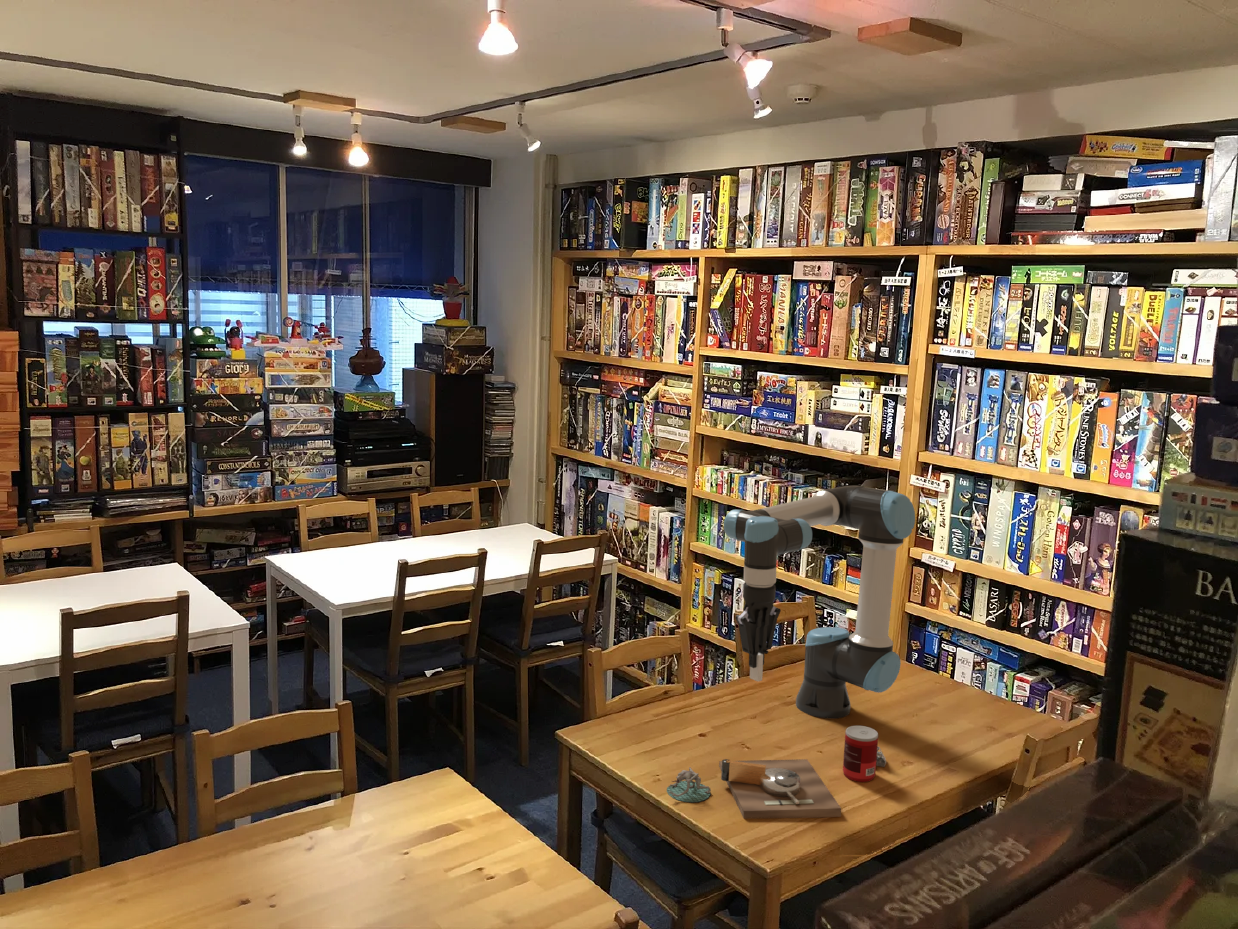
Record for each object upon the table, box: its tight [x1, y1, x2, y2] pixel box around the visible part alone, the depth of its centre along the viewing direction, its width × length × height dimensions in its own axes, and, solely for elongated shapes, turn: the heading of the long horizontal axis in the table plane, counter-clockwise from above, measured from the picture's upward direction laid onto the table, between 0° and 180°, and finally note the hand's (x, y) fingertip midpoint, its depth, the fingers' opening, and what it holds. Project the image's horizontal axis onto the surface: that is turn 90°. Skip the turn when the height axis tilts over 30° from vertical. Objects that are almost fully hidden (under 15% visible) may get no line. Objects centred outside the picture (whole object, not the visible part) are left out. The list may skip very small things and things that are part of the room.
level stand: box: [718, 758, 842, 820], centre depth 220 cm, size 24×22×2 cm
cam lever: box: [720, 758, 801, 804], centre depth 217 cm, size 18×12×5 cm
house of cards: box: [876, 746, 887, 768], centre depth 235 cm, size 9×9×8 cm
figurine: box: [666, 767, 712, 804], centre depth 217 cm, size 11×12×6 cm
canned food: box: [842, 725, 879, 783], centre depth 230 cm, size 8×8×11 cm
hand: (755, 679), depth 226 cm, fingers closed
